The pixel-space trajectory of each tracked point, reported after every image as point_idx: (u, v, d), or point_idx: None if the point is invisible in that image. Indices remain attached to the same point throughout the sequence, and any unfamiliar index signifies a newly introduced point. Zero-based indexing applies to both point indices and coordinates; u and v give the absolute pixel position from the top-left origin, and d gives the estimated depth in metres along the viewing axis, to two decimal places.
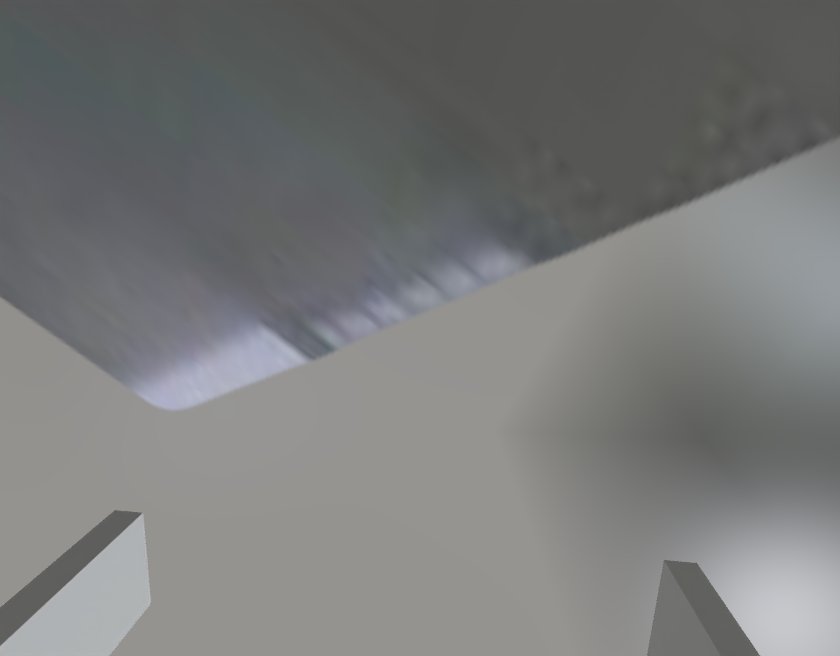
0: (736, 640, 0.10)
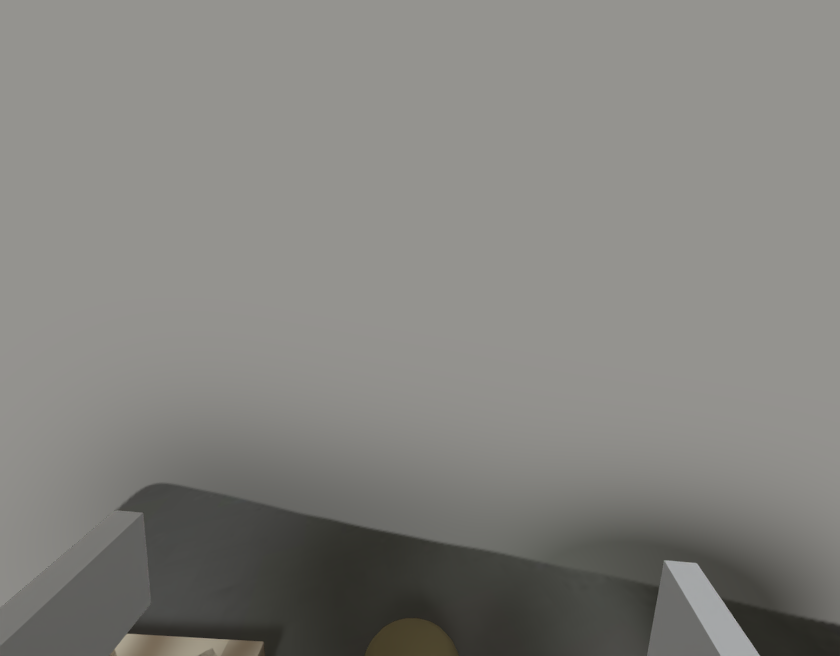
0: (736, 640, 0.10)
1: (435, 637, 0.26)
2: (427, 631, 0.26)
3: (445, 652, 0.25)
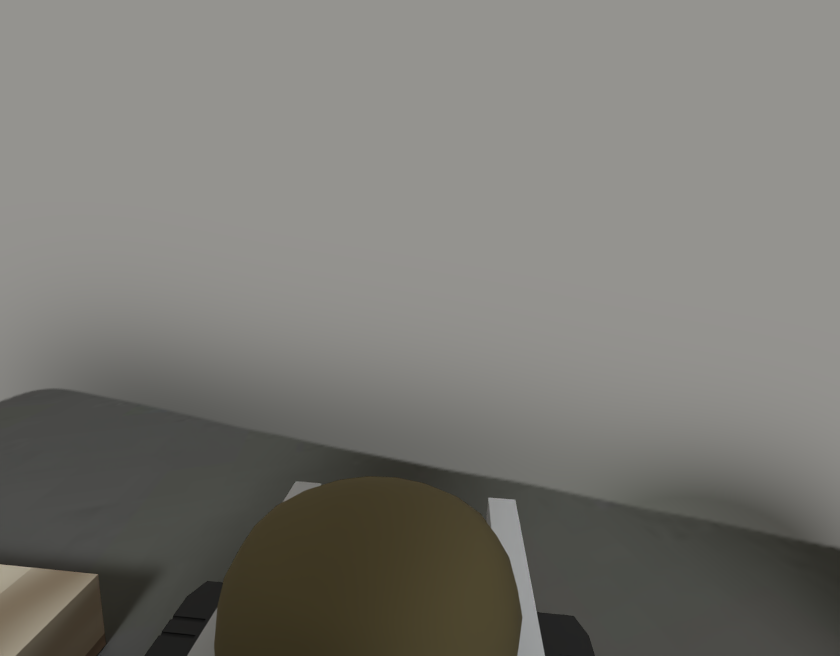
0: (513, 550, 0.12)
1: (447, 510, 0.09)
2: (424, 496, 0.09)
3: (477, 543, 0.08)
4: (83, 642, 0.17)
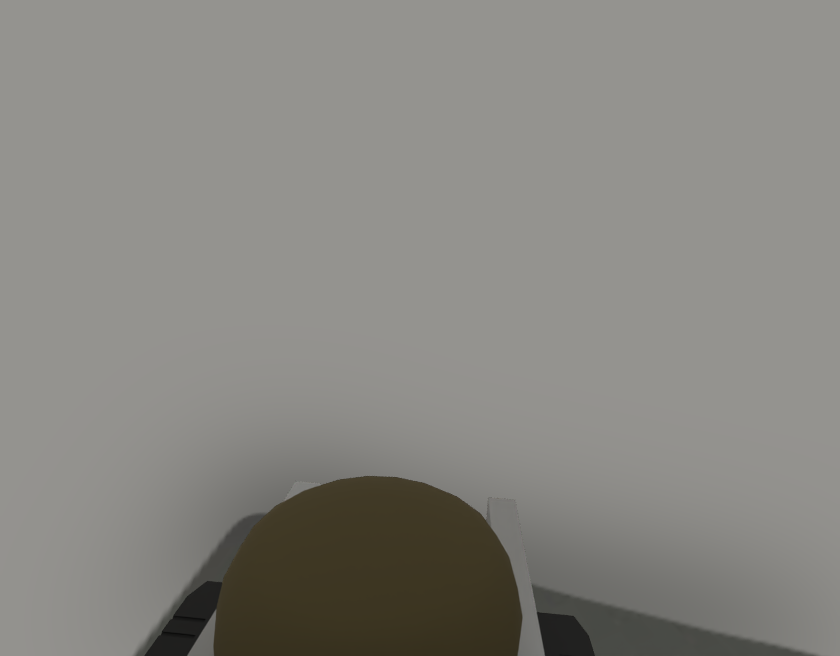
0: (513, 550, 0.12)
1: (447, 510, 0.09)
2: (424, 496, 0.09)
3: (477, 543, 0.08)
4: None
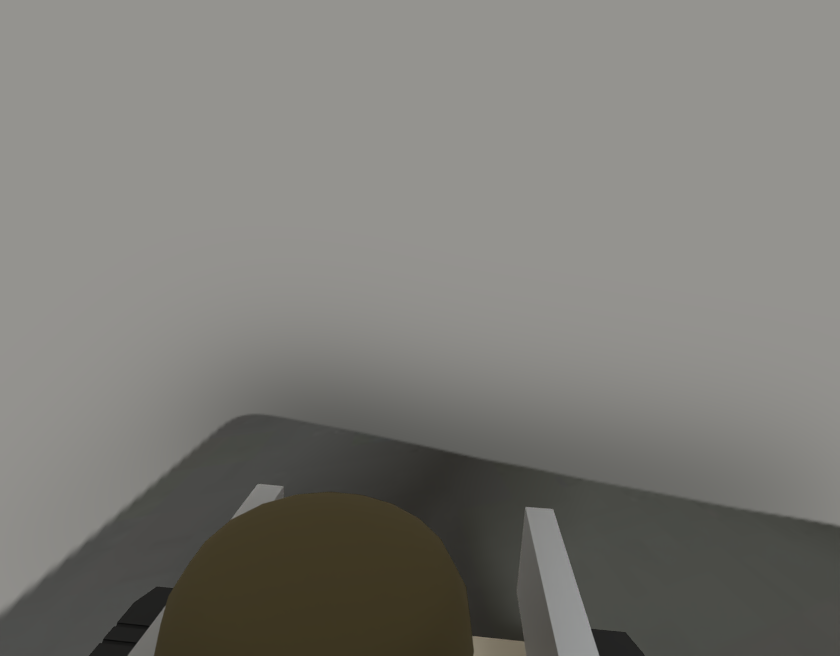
0: (559, 563, 0.11)
1: (405, 535, 0.09)
2: (384, 519, 0.09)
3: (431, 575, 0.08)
4: None
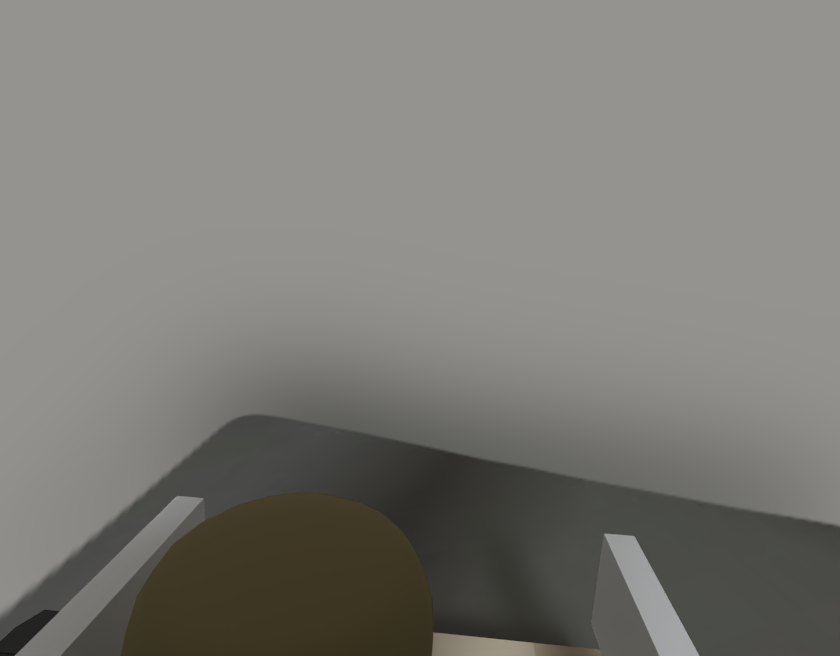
0: (657, 601, 0.10)
1: (365, 528, 0.09)
2: (345, 514, 0.09)
3: (387, 563, 0.08)
4: None
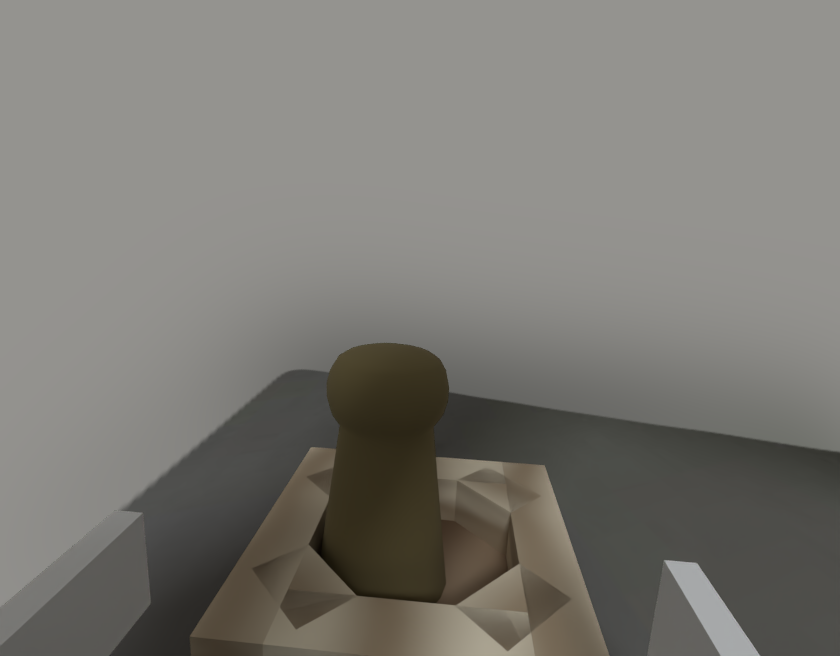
0: (736, 640, 0.10)
1: (419, 349, 0.22)
2: (410, 346, 0.22)
3: (430, 357, 0.21)
4: None
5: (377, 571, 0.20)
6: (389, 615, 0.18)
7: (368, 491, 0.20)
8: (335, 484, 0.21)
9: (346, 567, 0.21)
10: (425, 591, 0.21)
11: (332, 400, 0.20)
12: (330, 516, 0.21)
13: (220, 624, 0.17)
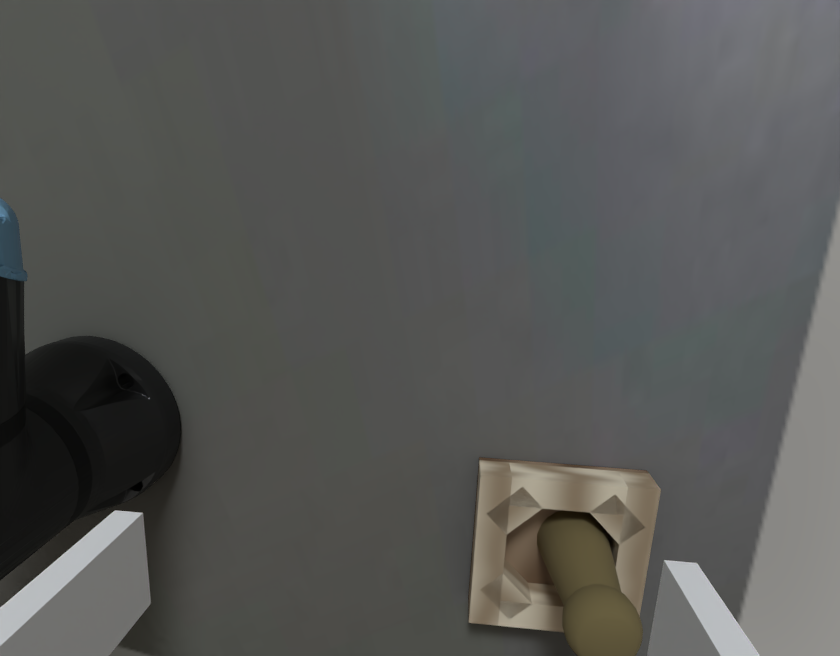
0: (736, 640, 0.10)
1: (587, 651, 0.33)
2: None
3: (580, 639, 0.33)
4: (469, 596, 0.44)
5: (580, 528, 0.40)
6: (573, 502, 0.40)
7: (597, 561, 0.37)
8: (615, 571, 0.38)
9: (596, 531, 0.40)
10: (551, 524, 0.42)
11: (634, 607, 0.34)
12: (612, 557, 0.39)
13: (649, 495, 0.39)
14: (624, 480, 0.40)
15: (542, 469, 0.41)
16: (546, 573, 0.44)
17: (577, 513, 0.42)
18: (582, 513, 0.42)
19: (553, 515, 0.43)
